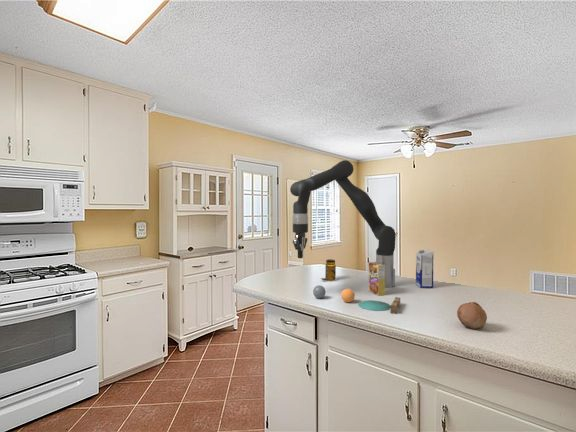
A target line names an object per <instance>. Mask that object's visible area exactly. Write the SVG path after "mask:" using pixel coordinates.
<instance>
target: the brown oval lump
mask: <svg viewBox="0 0 576 432" xmlns="http://www.w3.org/2000/svg"><path fill="white" fill-rule="evenodd" d="M456 317H457V319H458V320H459V322H460V323H461V324H462V326H464V327H465V328H467V329H472V330H477V329H479V330H480V329H481V328H483V327H484V326H485V325H486V323H487V320H488V316H487V313H486V311H485V309H483V306H481V305H480V304H479V303H478V302H476V301H470V302H466V303H463V304H460V305H459V306H458V308H457V311H456Z"/></svg>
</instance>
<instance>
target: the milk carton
mask: <svg viewBox="0 0 576 432" xmlns="http://www.w3.org/2000/svg"><path fill="white" fill-rule="evenodd" d="M434 253H435V252H434V251H433V250H431V249H426V250H425V249H423V250H419V251H418V252H416V253H415V286H417V287H418V288H419V289H434V260H435V259H434Z"/></svg>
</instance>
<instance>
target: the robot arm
mask: <svg viewBox="0 0 576 432" xmlns="http://www.w3.org/2000/svg"><path fill="white" fill-rule="evenodd" d="M354 169H355V168H354V165H353V163H352V162H350V161H349V160H341V161H339V162H338V163H336V164H335V165H333V166H332V167H331V168H329V169H327V170H324V171H322V172H319V173H317V174H314V175H312V176H309V177H308V178H306V179H300V180H298V181H295V182H293V183H292V184H291V185H290V188H289V189H290V190H289V191H290V193H291V195H293V196H294V197H298V198H297V200H295V201H294V202H293V205H292V209H293V210H292V213H293V214H292V233H294V239H292V244H293V247H294V250H296V251H297V258H298V259H303V258H304V249H306V246H307V243H308V238H307V237H306V233H308V232H309V214H308V212H309V211H308V209H309V208H308V206H309V202H310V197H311V192H313V191H317V190H319V189H321V188H323V187H325V186H326V185H328V184H330V183H333V182H334V181H335V182H336V183H337V184H338V185H339V186H340V187H341V189H342V190H343V191H344V192H345V194H346V195H347V196H348V198H349V200H350V201H351V202H352V205H353V206H354V207H355V209H356V210H357V211H358V213H359V214H360V215H361V217H362V218H363V219H364V221H365V222H366V223H367V225H368V226H369V228H370V230H371V232H372V233H373V234H374V237H375V238H376V240H377V241H378V245H377V248H376V250H375V262H377V263H380V264H383V265H385V288H393V287H395V286H396V269H395V268H394V256H395V255H394V254H395V253H394V252H395V250H396V238H397V237H396V231H395V229H394V228H393V227H392V226H389V225H386V224H385V222H384V221H383V220H382V219H381V218H380V217H379V214H378V212H377V208H376V206H375V204H374V202H373V200H372V199H371V197H370V196H369V194H368V193H367V192H366V191H364V190H363V189H362V188H360V187H358V186H357V185H355V184H353V183H352V181H350V179H349V178H348V177H350V176H352V174H353V173H354Z"/></svg>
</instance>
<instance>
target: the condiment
mask: <svg viewBox="0 0 576 432" xmlns="http://www.w3.org/2000/svg"><path fill="white" fill-rule="evenodd" d="M324 268H325V270H324V271H325V277H324V278H323V277H321V278H320V280H321V281H323V282H338V280H337V279H336V277H337V275H336V274H337V273H336V272H337V270H336V268H337V267H336V259H326V260H325V267H324Z"/></svg>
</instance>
